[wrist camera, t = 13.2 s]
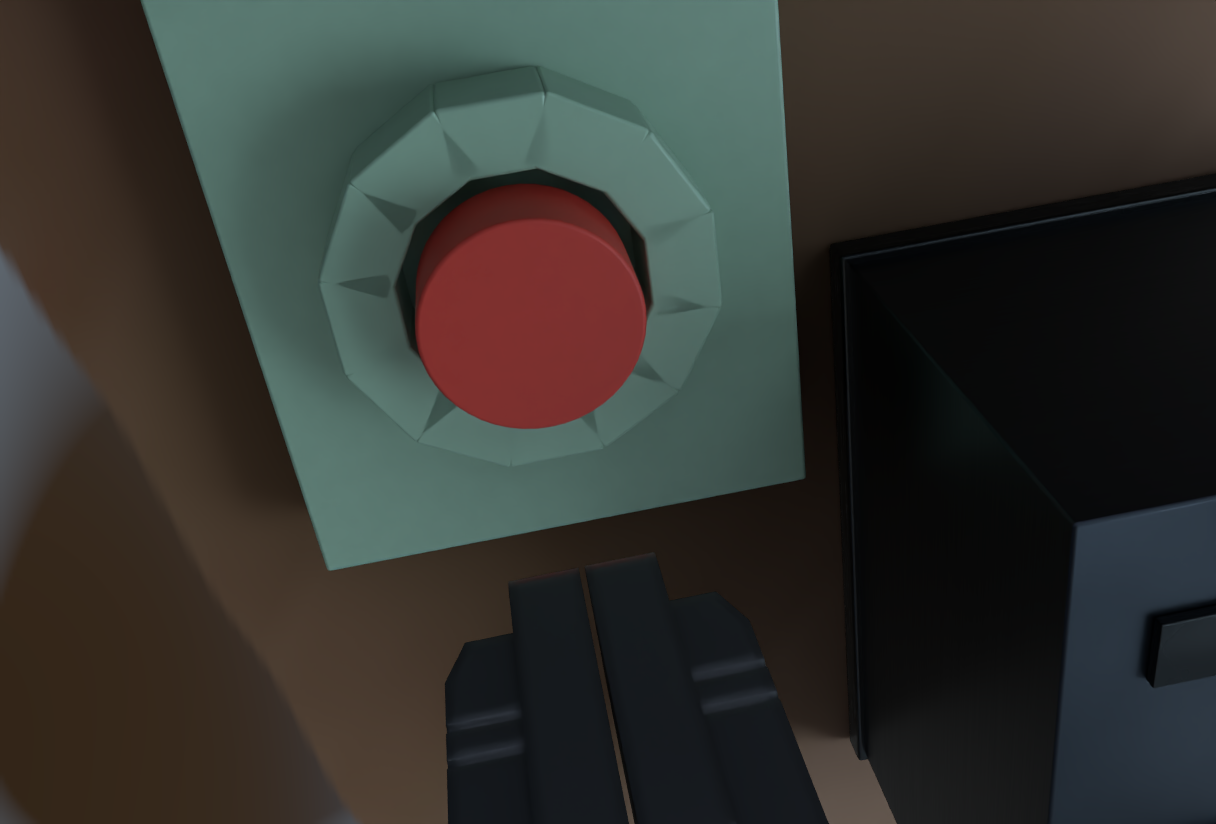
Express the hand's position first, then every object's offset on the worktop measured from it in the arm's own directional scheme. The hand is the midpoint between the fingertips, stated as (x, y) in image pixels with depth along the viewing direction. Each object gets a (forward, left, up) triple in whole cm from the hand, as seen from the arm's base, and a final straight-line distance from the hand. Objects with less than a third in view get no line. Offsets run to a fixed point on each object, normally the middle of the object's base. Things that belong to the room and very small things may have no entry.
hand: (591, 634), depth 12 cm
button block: (0, 0, -12) cm, 12 cm away
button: (0, 0, -9) cm, 9 cm away
